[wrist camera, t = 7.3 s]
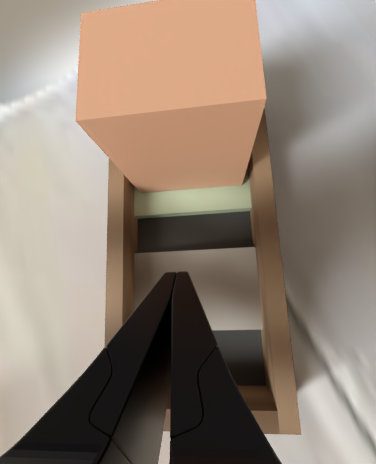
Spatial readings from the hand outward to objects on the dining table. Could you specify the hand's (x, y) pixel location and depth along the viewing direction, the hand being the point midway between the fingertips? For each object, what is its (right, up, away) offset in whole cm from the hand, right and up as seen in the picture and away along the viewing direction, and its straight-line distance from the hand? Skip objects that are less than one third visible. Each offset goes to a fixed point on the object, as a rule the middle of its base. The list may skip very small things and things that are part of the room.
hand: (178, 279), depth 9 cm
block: (0, +7, +8) cm, 11 cm away
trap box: (+1, +1, +8) cm, 8 cm away
